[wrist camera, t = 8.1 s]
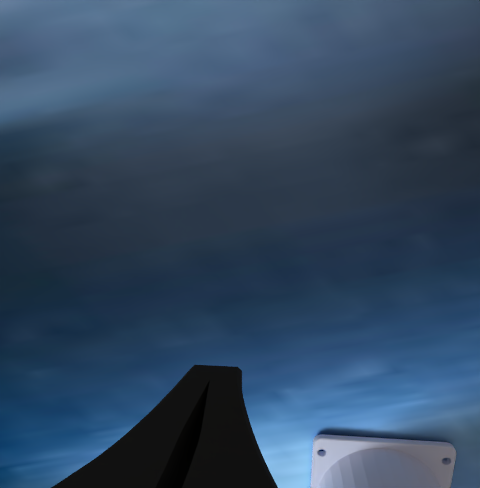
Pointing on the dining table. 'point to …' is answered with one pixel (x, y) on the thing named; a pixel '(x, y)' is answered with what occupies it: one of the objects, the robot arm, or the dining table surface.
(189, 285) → the dining table surface
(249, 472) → the robot arm
